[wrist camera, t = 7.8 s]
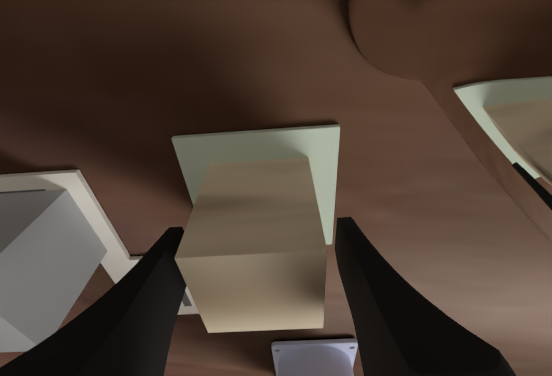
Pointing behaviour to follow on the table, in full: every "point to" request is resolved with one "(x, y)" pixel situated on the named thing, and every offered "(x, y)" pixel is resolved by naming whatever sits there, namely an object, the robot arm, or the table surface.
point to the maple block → (256, 247)
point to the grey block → (42, 264)
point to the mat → (266, 157)
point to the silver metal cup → (477, 80)
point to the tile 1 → (80, 195)
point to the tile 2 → (124, 266)
